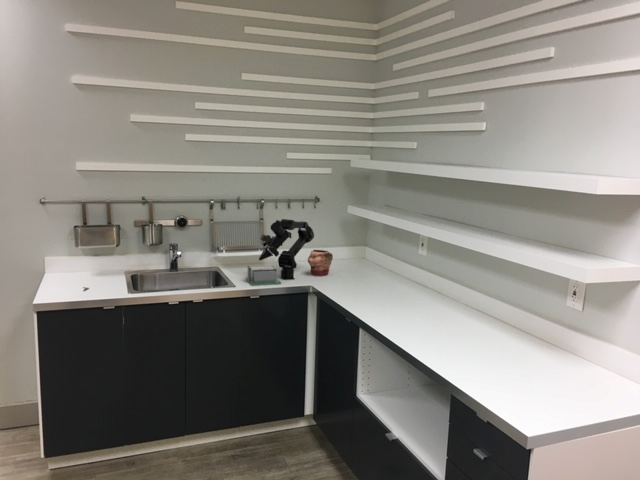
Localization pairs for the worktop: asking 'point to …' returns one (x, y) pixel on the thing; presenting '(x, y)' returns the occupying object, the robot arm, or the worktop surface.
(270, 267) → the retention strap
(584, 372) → the worktop surface
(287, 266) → the robot arm
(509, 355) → the worktop surface
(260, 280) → the green grey square block
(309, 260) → the decorative planter
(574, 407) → the worktop surface
